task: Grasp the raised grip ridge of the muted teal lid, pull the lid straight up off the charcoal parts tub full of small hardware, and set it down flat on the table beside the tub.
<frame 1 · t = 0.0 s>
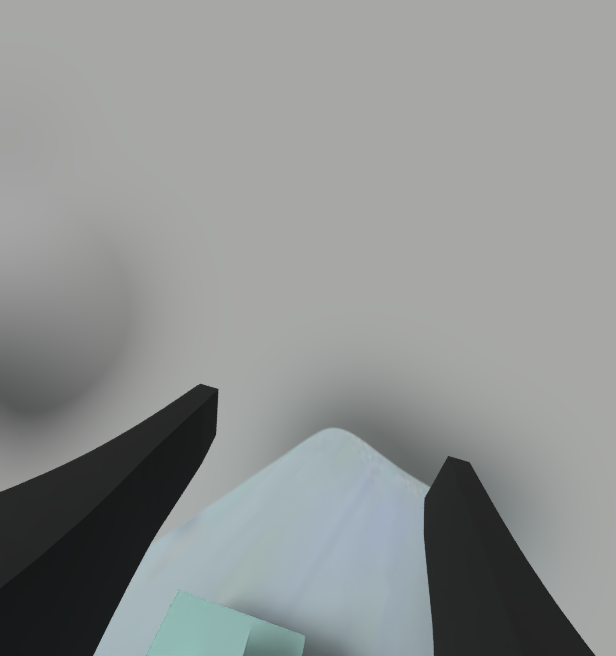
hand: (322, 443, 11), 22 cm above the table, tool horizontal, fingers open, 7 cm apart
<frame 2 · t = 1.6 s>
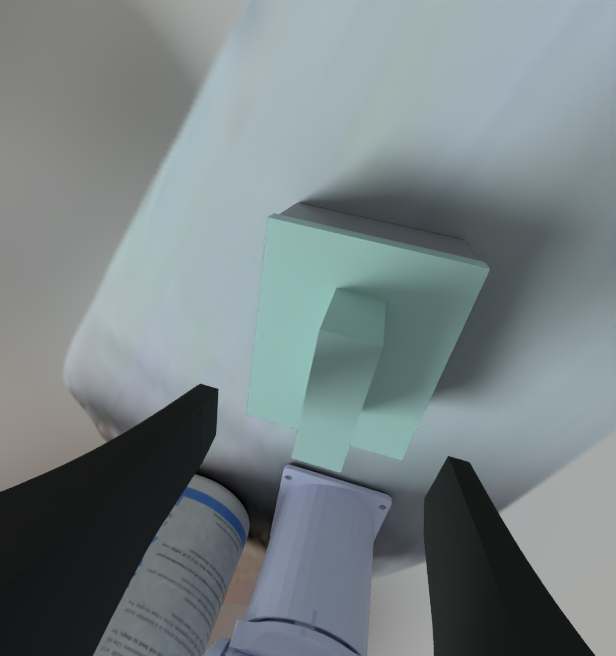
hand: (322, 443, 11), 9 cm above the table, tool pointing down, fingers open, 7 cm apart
parts tub: (354, 313, 19), on the table
supplement tub: (203, 503, 31), on the table
lid: (347, 342, 16), point 3 cm above the table, touching parts tub
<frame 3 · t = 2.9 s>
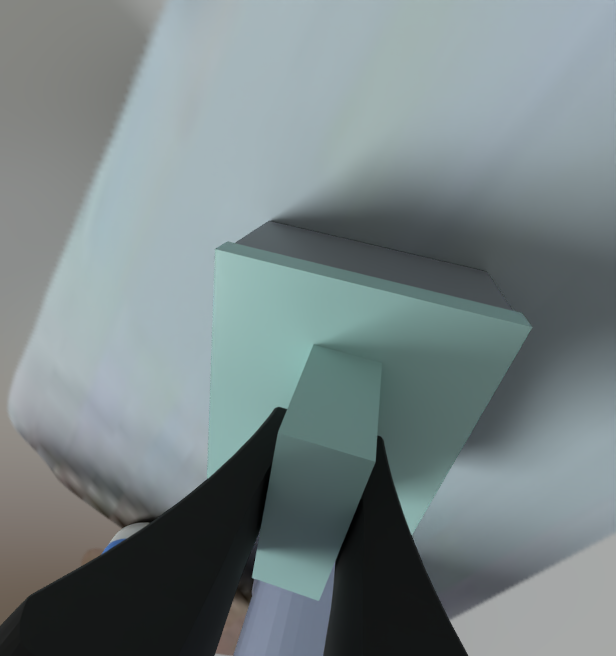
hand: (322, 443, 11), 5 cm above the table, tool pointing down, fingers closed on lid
parts tub: (343, 357, 15), on the table
supplement tub: (176, 553, 27), on the table
lid: (332, 403, 12), point 3 cm above the table, touching gripper, parts tub
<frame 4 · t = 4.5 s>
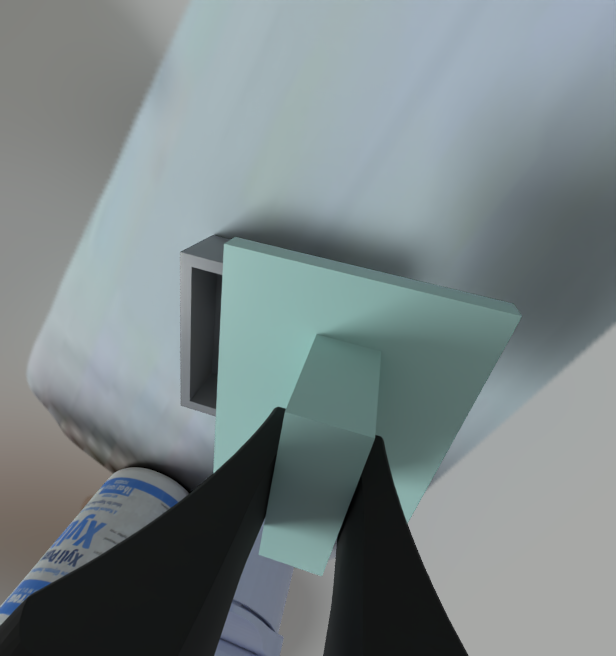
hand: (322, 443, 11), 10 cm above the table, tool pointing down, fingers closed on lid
parts tub: (269, 328, 22), on the table
supplement tub: (158, 495, 34), on the table
lid: (334, 392, 13), point 8 cm above the table, touching gripper
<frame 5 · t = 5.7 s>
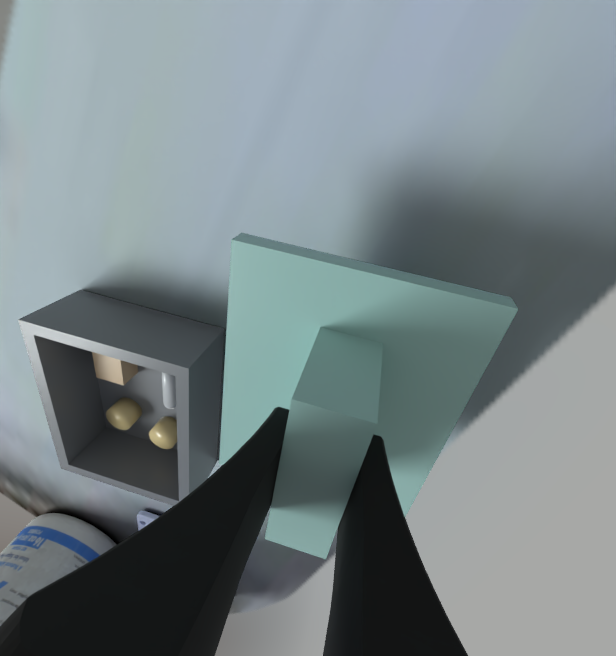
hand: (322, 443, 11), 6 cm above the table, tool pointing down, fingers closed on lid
parts tub: (155, 384, 20), on the table
supplement tub: (85, 539, 32), on the table
lid: (337, 384, 13), point 3 cm above the table, touching gripper
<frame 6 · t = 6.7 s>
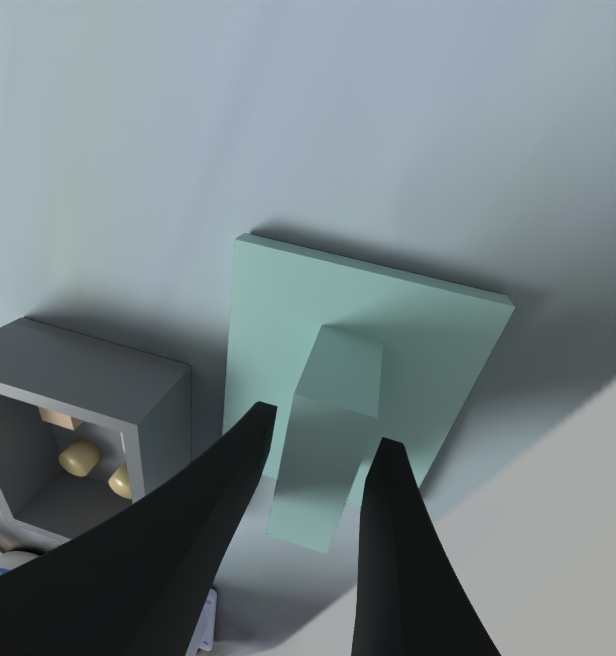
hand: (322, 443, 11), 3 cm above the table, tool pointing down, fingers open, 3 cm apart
parts tub: (116, 423, 17), on the table
supplement tub: (56, 577, 30), on the table
lid: (337, 382, 14), on the table
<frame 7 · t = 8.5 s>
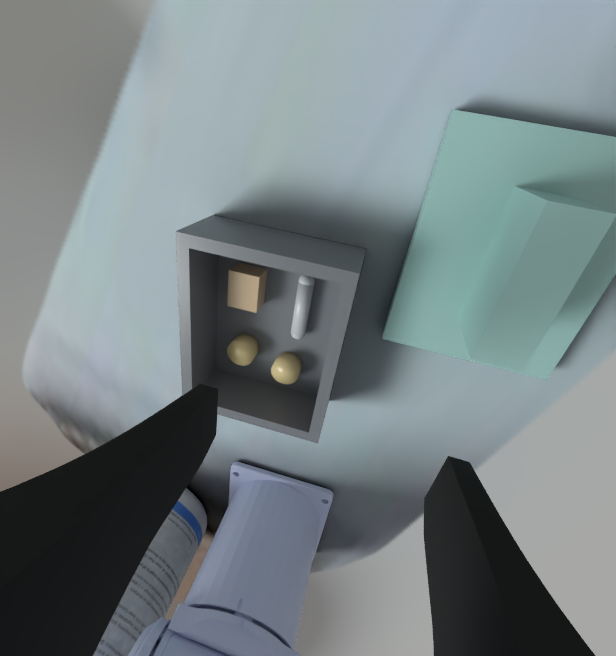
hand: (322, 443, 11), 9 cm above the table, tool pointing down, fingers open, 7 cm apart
parts tub: (276, 318, 20), on the table
supplement tub: (164, 499, 32), on the table
lid: (500, 255, 16), on the table
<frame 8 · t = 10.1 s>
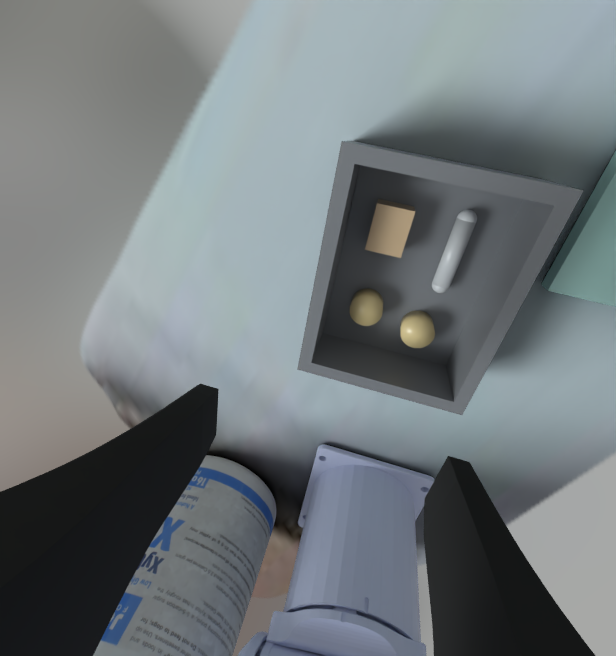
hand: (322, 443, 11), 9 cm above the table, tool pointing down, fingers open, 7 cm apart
parts tub: (408, 270, 17), on the table
supplement tub: (226, 489, 29), on the table
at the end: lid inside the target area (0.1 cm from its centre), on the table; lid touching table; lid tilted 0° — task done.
